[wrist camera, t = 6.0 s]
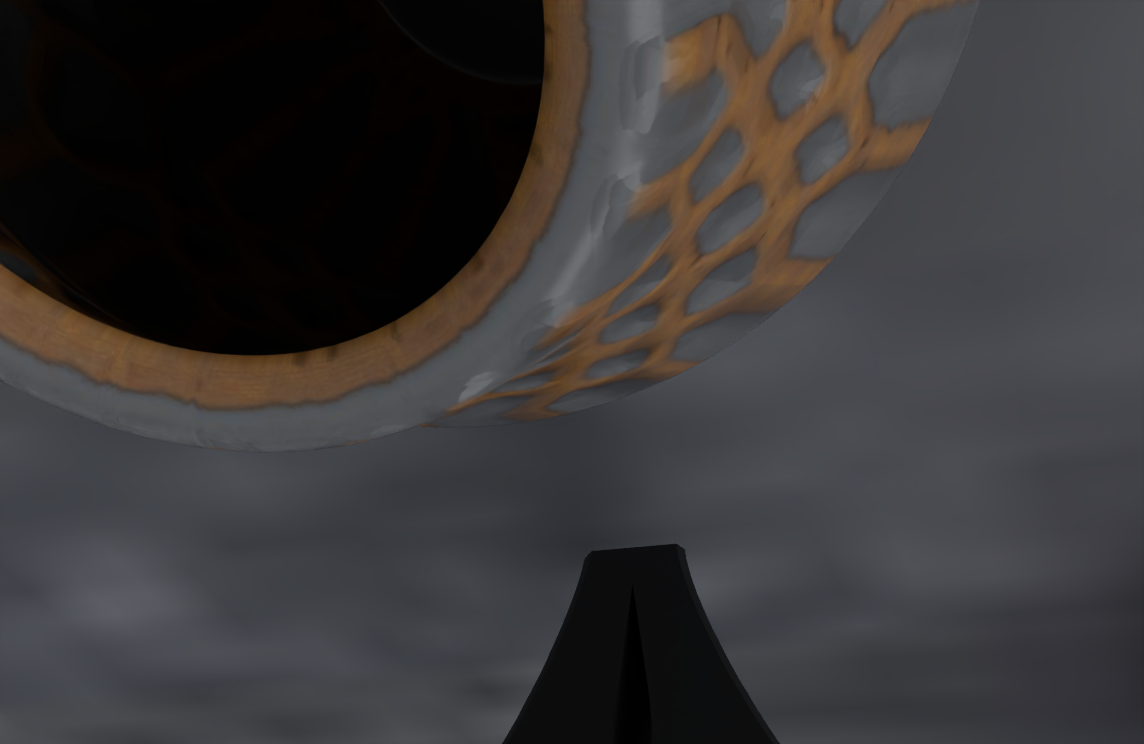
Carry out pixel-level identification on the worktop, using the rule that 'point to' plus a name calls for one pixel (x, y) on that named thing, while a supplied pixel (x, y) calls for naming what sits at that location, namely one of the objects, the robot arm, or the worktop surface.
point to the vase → (428, 198)
